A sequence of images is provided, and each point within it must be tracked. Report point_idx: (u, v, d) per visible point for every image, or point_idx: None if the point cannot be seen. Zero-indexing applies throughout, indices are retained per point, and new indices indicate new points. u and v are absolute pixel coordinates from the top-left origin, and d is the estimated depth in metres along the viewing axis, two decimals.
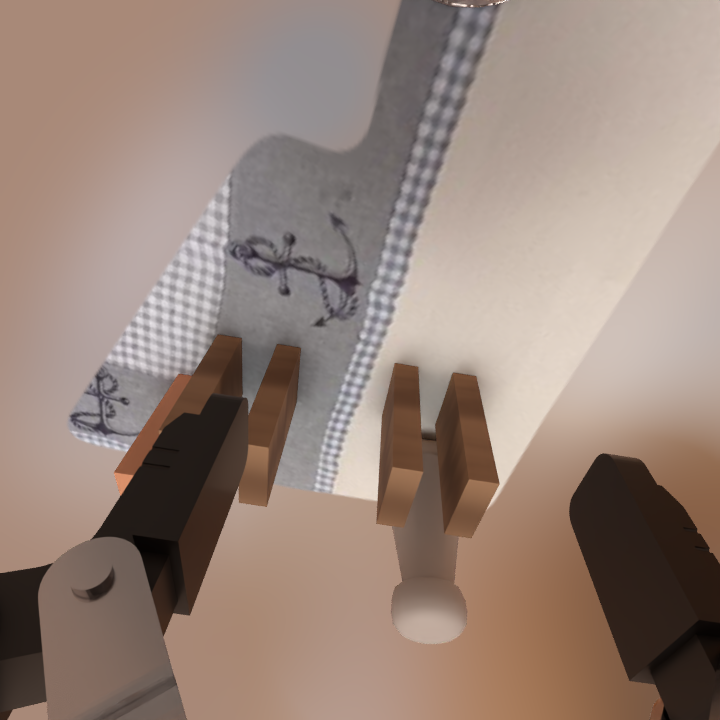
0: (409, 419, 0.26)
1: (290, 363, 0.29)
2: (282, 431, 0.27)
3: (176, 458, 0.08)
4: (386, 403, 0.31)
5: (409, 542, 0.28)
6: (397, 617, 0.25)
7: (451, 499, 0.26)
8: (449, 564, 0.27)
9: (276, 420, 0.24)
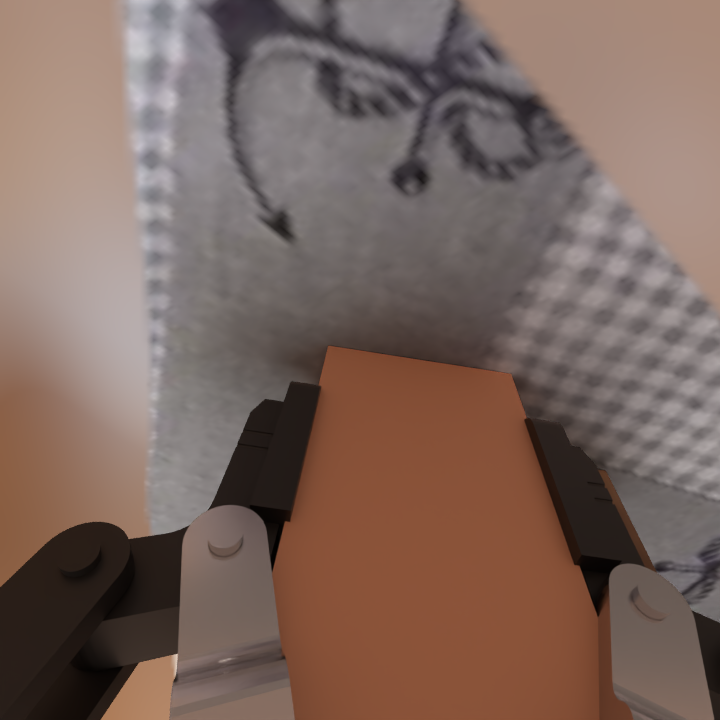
0: None
1: None
2: None
3: (272, 439, 0.09)
4: None
5: None
6: None
7: None
8: None
9: None
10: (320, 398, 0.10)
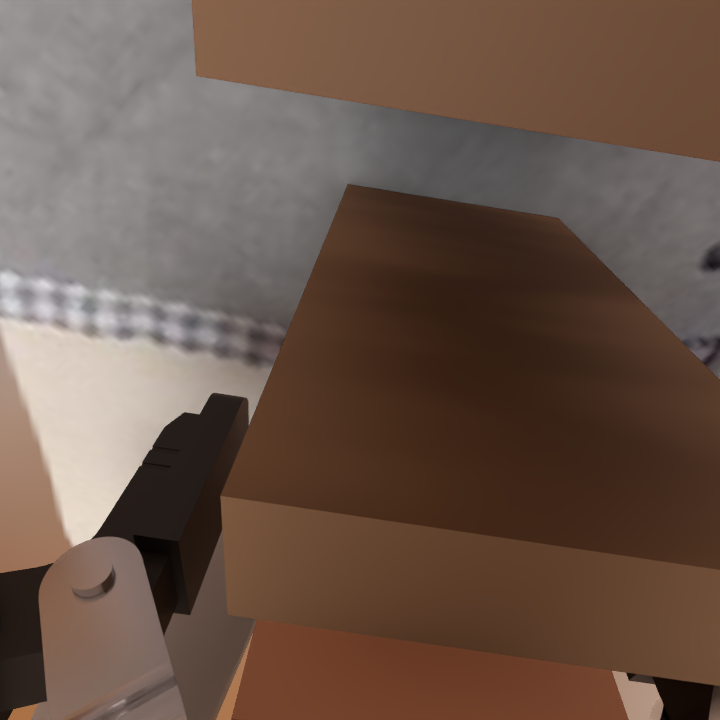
0: None
1: None
2: None
3: (176, 458, 0.08)
4: None
5: None
6: None
7: None
8: None
9: None
10: None
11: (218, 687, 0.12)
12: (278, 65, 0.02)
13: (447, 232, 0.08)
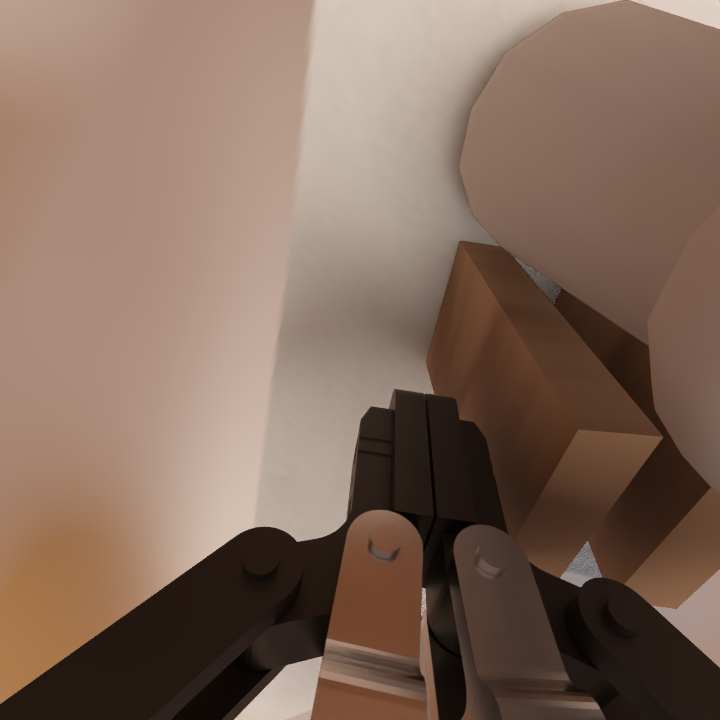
0: None
1: None
2: None
3: (395, 446, 0.09)
4: None
5: None
6: None
7: None
8: (635, 308, 0.06)
9: None
10: None
11: None
12: None
13: None
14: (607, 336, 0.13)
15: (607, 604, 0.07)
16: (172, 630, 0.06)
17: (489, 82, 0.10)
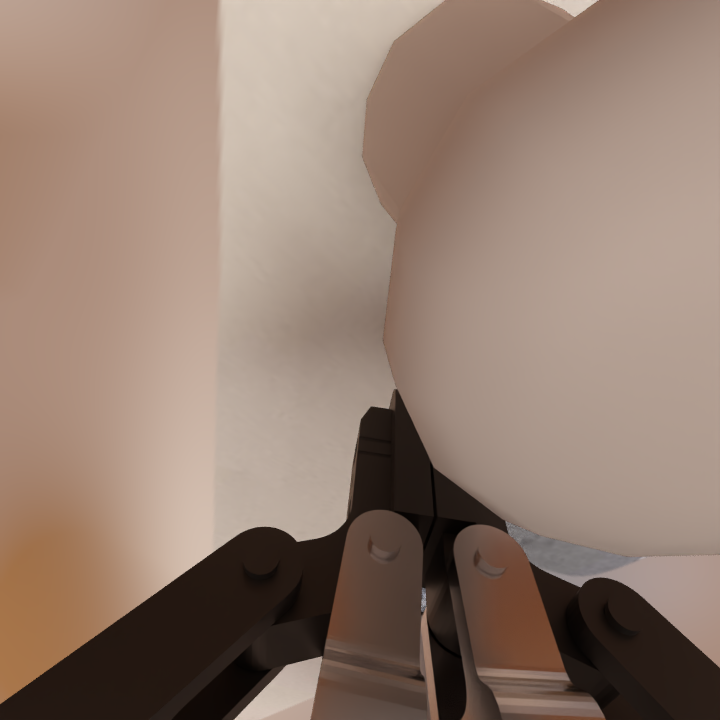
0: None
1: None
2: None
3: (395, 446, 0.09)
4: None
5: None
6: None
7: None
8: None
9: None
10: None
11: None
12: None
13: None
14: None
15: (607, 604, 0.07)
16: (174, 630, 0.06)
17: (380, 71, 0.11)
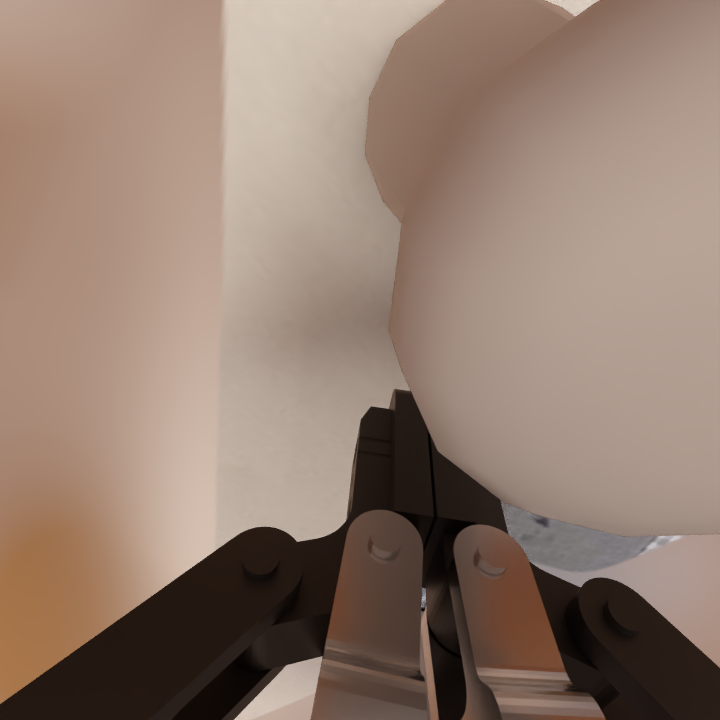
0: None
1: None
2: None
3: (396, 446, 0.09)
4: None
5: None
6: None
7: None
8: None
9: None
10: None
11: None
12: None
13: None
14: None
15: (607, 604, 0.07)
16: (172, 631, 0.06)
17: (383, 69, 0.11)
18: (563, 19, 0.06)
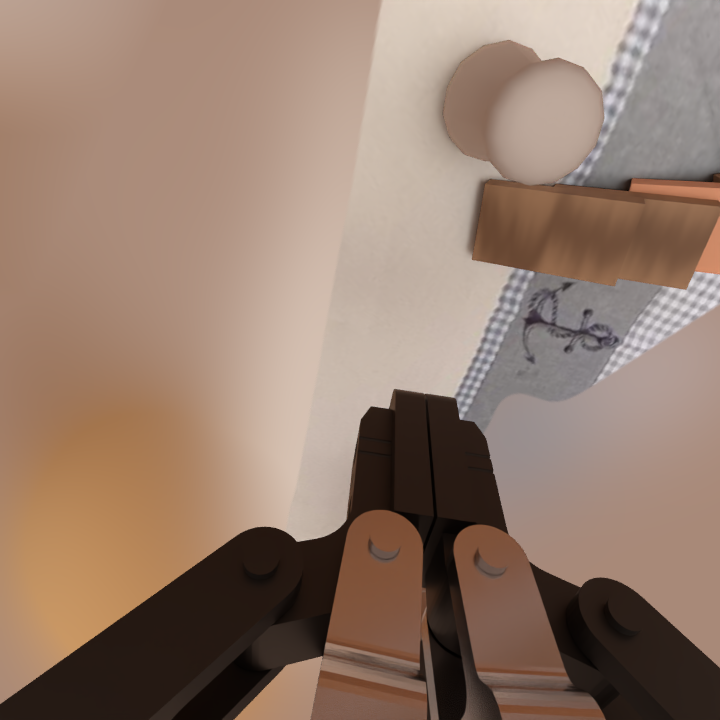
0: None
1: None
2: None
3: (396, 446, 0.09)
4: None
5: None
6: (591, 149, 0.17)
7: None
8: None
9: None
10: None
11: None
12: None
13: None
14: None
15: (607, 604, 0.07)
16: (173, 630, 0.06)
17: (454, 74, 0.24)
18: (527, 60, 0.20)
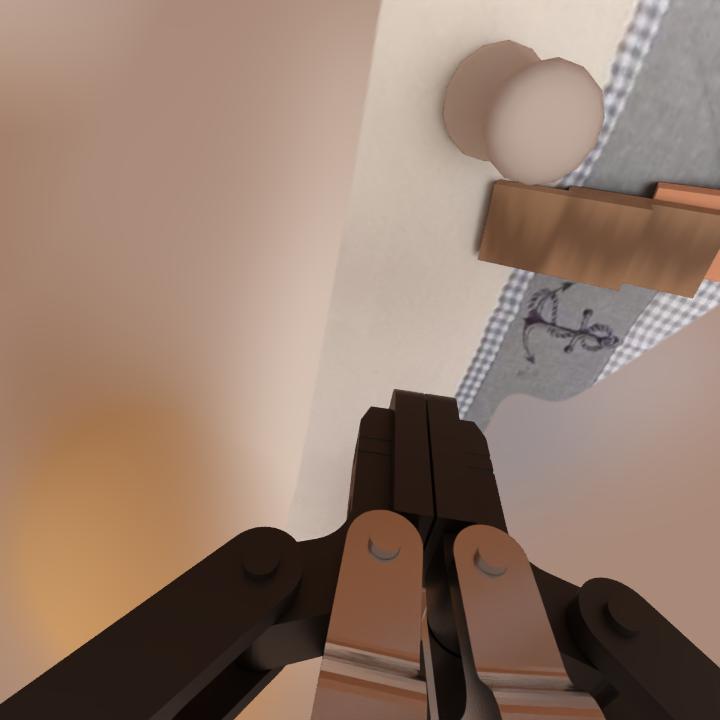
0: None
1: None
2: None
3: (395, 446, 0.09)
4: None
5: None
6: (591, 148, 0.17)
7: None
8: None
9: None
10: None
11: None
12: None
13: None
14: None
15: (607, 604, 0.07)
16: (172, 631, 0.06)
17: (454, 74, 0.24)
18: (527, 59, 0.20)
